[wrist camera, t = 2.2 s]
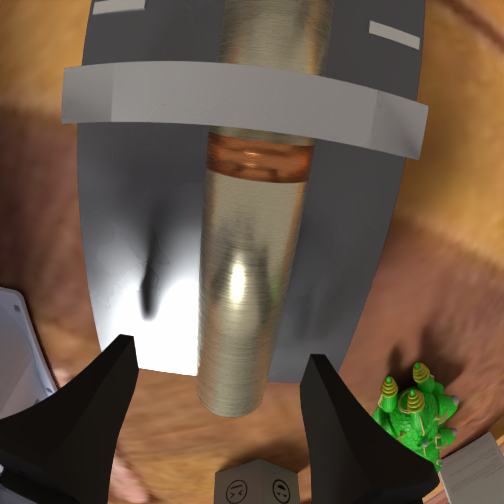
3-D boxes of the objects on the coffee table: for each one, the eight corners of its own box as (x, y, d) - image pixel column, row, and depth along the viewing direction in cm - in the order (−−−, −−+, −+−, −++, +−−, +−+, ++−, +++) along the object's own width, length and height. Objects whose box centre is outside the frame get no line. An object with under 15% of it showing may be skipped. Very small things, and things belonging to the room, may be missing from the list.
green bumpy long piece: (388, 466, 24) (398, 501, 20) (340, 374, 17) (357, 435, 13) (448, 439, 23) (462, 472, 19) (443, 324, 16) (477, 376, 12)
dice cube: (253, 487, 24) (254, 531, 20) (215, 472, 22) (212, 521, 18) (297, 473, 23) (302, 521, 18) (260, 457, 21) (262, 512, 17)
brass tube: (247, 361, 15) (275, 406, 13) (188, 373, 14) (208, 424, 12) (301, -7, 8) (358, -25, 6) (218, -28, 7) (259, -64, 5)
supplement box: (439, 475, 27) (462, 550, 16) (435, 461, 25) (464, 551, 13) (488, 447, 26) (518, 520, 14) (492, 428, 23) (529, 513, 12)
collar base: (329, 369, 16) (352, 460, 11) (109, 348, 16) (73, 434, 10) (413, -60, 7) (486, -109, 2) (130, -93, 6) (79, -158, 1)
